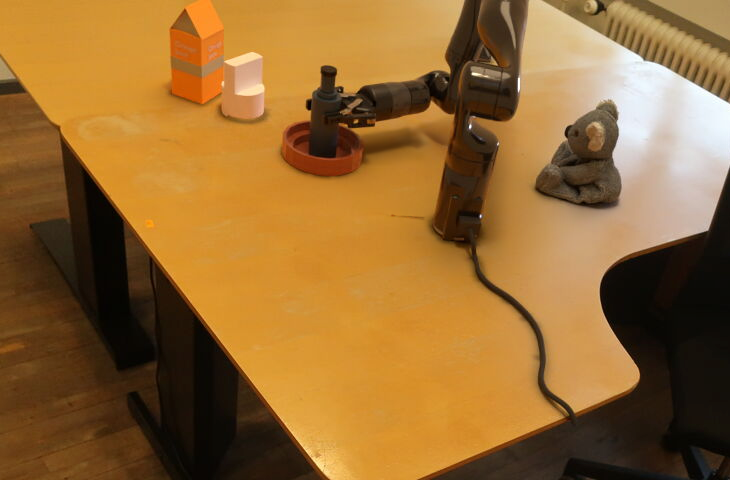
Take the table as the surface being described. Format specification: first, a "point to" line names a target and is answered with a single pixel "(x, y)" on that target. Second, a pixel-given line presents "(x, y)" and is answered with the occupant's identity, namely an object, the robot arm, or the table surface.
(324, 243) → the table surface
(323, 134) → the flask
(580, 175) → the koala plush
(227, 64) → the cylinder with rectangular tab
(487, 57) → the black flat rounded slab
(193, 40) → the orange juice
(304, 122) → the bowl
